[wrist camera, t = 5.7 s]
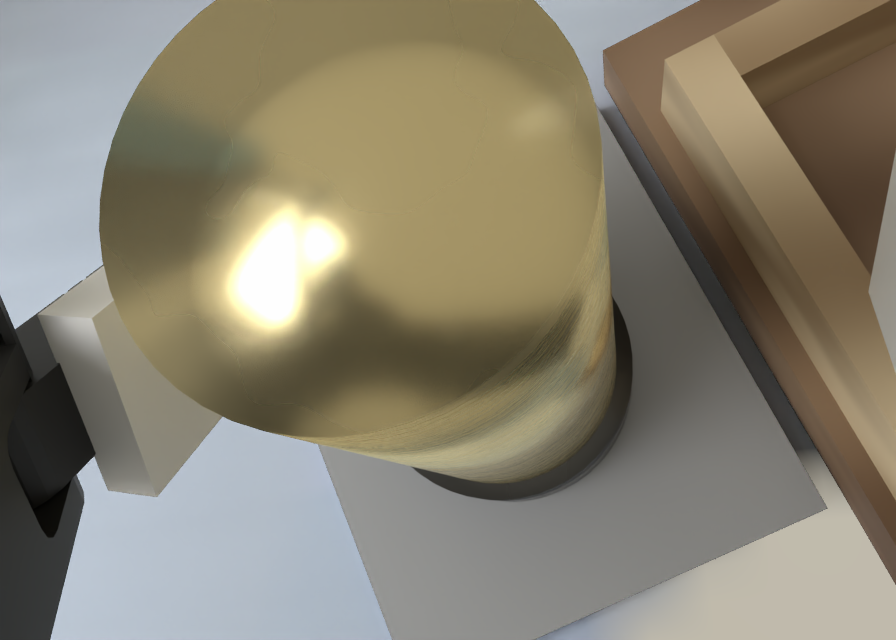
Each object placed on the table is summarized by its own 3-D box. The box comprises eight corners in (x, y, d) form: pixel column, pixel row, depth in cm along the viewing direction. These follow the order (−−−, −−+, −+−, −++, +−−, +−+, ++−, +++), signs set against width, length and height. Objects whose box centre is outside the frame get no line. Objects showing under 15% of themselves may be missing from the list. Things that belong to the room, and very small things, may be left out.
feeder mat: (262, 281, 20) (253, 275, 19) (594, 111, 19) (593, 101, 19) (419, 688, 17) (413, 693, 16) (821, 509, 16) (828, 508, 16)
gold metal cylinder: (359, 326, 19) (13, 80, 8) (565, 225, 18) (480, -178, 8) (449, 542, 17) (165, 581, 7) (677, 437, 16) (763, 295, 6)
